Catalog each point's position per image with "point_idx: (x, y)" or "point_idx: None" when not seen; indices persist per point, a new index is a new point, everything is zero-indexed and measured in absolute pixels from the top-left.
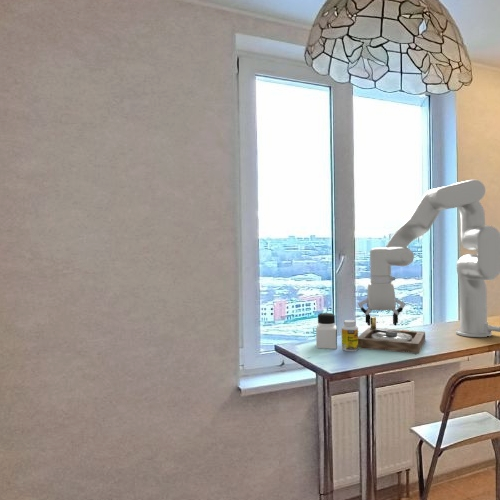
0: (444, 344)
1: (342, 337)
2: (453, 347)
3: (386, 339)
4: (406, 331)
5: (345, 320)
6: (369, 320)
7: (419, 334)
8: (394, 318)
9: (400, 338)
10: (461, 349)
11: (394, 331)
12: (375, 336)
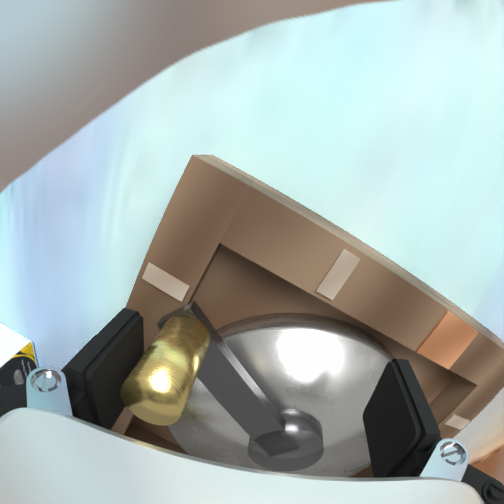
0: (498, 407)
1: None
2: (485, 440)
3: None
4: (441, 365)
5: None
6: (120, 404)
7: (448, 428)
8: (371, 463)
9: (306, 473)
10: (481, 456)
11: (310, 449)
12: (183, 425)
